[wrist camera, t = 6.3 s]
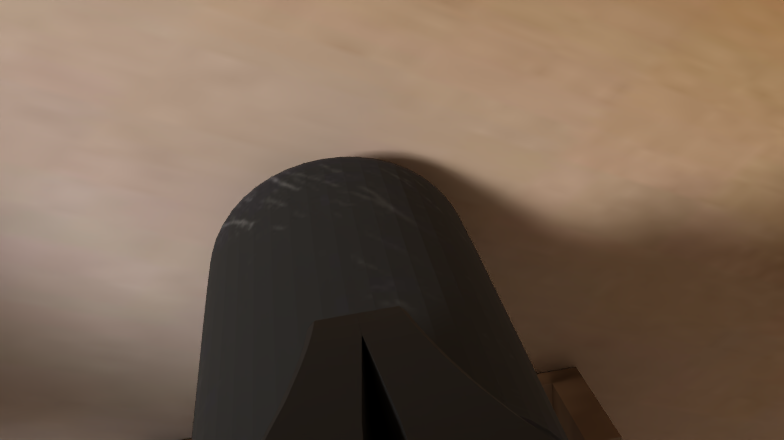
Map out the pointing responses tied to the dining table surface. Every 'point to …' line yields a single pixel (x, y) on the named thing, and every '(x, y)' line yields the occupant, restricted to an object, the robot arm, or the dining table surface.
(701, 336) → the dining table surface
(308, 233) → the travel mug
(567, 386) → the u rest
